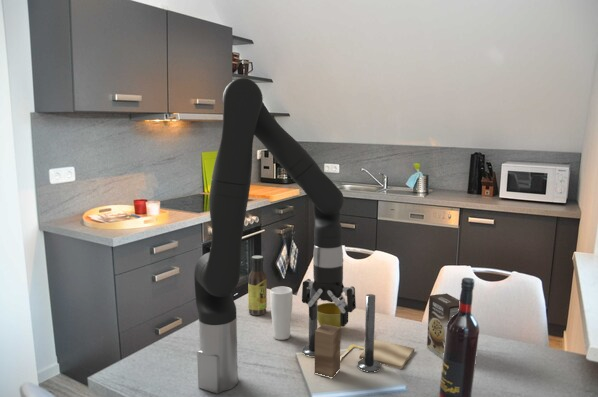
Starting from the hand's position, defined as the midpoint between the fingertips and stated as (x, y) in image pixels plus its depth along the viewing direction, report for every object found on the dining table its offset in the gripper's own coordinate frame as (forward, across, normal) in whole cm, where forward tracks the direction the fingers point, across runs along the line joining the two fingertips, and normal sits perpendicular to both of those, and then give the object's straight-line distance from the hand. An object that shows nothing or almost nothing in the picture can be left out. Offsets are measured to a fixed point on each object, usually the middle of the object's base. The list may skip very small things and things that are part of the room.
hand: (328, 322), depth 124 cm
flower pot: (+14, -10, +24) cm, 29 cm away
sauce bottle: (+14, -38, +24) cm, 47 cm away
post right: (+14, +8, +7) cm, 18 cm away
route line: (+14, +2, +11) cm, 18 cm away
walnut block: (+14, 0, 0) cm, 14 cm away
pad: (+14, +10, +16) cm, 24 cm away
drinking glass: (+14, -22, +12) cm, 28 cm away
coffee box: (+14, +25, +25) cm, 38 cm away
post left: (+14, -8, +8) cm, 18 cm away
